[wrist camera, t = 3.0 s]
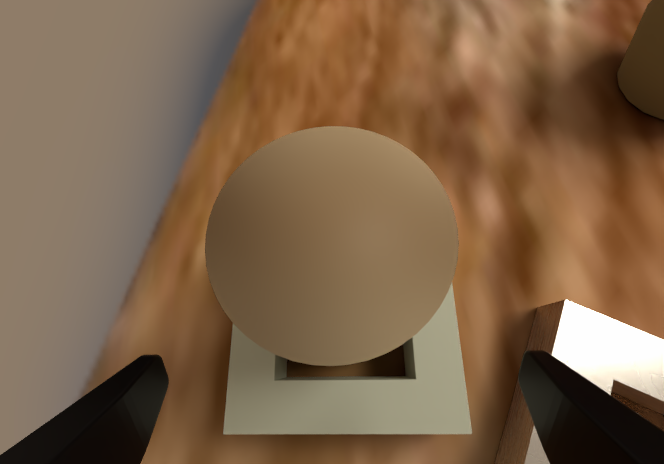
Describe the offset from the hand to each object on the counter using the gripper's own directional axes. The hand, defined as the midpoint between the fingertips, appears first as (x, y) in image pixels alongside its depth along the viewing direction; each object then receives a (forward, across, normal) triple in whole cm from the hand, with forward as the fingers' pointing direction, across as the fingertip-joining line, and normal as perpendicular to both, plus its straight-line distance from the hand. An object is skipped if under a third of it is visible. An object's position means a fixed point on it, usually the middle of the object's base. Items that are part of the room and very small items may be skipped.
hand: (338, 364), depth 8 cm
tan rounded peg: (+8, 0, +5) cm, 10 cm away
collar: (+8, 0, +5) cm, 10 cm away
